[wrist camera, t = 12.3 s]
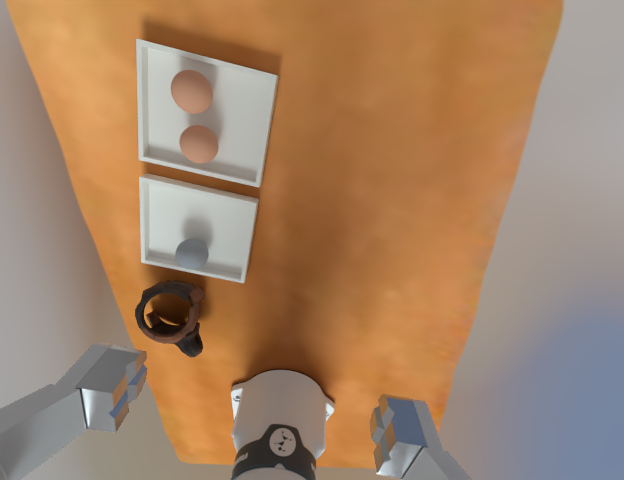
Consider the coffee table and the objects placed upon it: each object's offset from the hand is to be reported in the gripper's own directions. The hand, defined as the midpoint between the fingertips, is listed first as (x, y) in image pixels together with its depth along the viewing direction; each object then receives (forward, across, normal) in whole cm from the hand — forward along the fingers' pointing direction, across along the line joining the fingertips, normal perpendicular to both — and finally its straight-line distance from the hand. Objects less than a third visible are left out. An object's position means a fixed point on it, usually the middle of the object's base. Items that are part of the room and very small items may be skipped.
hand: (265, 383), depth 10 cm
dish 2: (+29, +12, +10) cm, 33 cm away
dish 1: (+29, +12, -4) cm, 32 cm away
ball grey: (+28, +12, +13) cm, 33 cm away
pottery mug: (+30, +14, +24) cm, 40 cm away
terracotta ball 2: (+28, +12, -1) cm, 31 cm away
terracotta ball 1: (+28, +12, -6) cm, 31 cm away
